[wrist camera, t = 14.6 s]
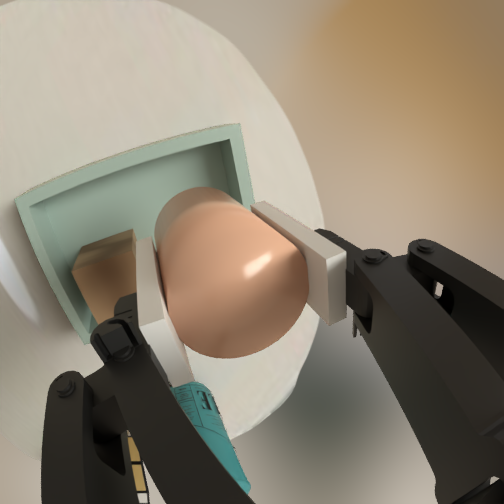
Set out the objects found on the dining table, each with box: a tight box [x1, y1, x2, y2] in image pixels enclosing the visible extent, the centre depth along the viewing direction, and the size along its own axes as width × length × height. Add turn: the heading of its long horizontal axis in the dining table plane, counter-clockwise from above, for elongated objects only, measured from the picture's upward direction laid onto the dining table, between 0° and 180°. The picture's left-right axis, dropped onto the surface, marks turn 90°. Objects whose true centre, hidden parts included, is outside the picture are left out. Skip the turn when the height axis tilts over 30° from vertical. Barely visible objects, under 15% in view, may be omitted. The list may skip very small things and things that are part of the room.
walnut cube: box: [72, 229, 137, 325], centre depth 22 cm, size 5×5×5 cm
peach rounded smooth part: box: [154, 187, 309, 358], centre depth 13 cm, size 5×5×7 cm
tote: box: [14, 123, 255, 345], centre depth 23 cm, size 18×14×4 cm
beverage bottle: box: [170, 382, 251, 495], centre depth 25 cm, size 6×7×20 cm
